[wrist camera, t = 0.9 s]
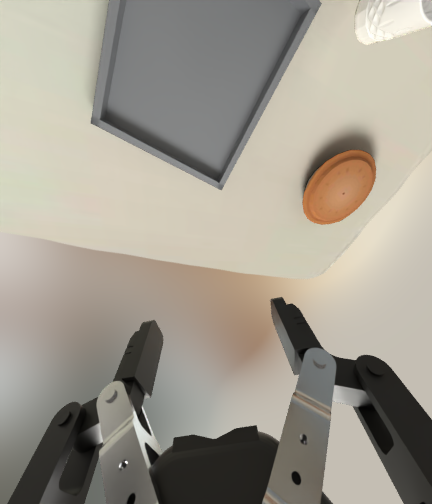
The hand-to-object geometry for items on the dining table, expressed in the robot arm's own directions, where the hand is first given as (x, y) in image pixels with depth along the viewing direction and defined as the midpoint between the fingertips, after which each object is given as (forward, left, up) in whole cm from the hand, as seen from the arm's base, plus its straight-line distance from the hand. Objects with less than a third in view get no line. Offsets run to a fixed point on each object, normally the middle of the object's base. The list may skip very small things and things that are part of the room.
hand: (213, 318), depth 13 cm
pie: (+30, -5, -31) cm, 43 cm away
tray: (+4, +16, -30) cm, 35 cm away
